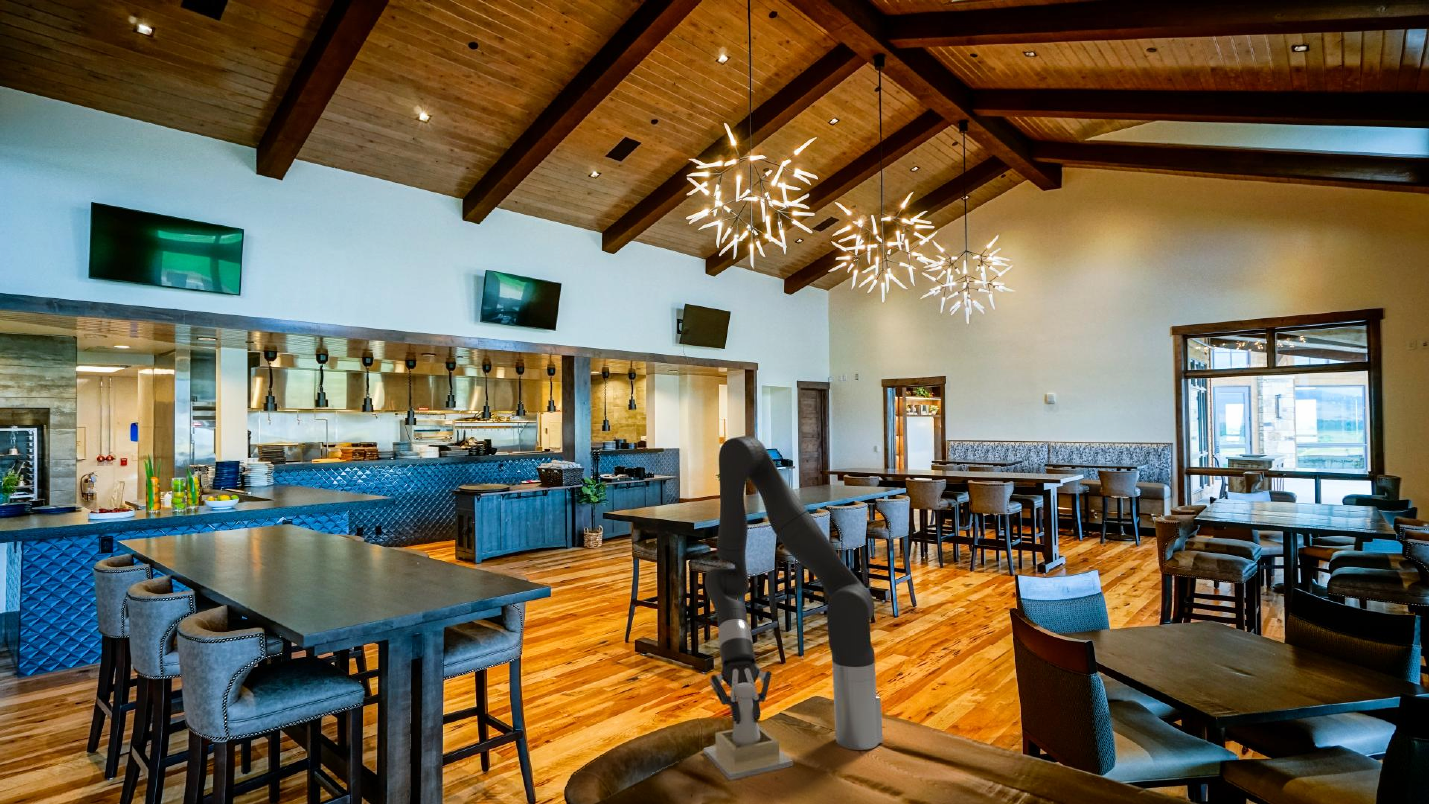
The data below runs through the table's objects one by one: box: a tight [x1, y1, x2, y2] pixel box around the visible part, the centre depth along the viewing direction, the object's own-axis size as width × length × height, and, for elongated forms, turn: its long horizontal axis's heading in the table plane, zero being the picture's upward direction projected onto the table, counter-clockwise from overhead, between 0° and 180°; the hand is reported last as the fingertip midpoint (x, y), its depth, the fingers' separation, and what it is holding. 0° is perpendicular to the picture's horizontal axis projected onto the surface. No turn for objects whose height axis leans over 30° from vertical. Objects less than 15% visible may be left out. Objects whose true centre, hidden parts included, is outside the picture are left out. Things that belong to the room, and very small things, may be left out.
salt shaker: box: [732, 683, 760, 748], centre depth 146 cm, size 6×6×13 cm
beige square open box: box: [703, 724, 794, 781], centre depth 145 cm, size 14×14×4 cm
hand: (747, 721), depth 144 cm, fingers open, 3 cm apart
